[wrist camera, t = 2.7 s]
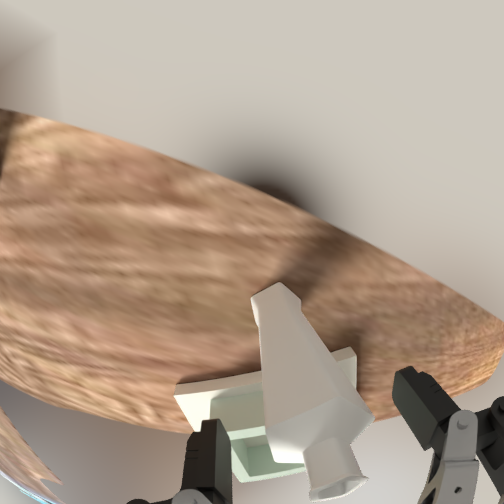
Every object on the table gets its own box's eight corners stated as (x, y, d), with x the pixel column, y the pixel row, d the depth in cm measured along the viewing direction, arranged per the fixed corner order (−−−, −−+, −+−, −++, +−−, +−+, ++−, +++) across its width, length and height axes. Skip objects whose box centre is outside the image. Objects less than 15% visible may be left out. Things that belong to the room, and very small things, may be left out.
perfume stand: (215, 451, 25) (214, 488, 20) (176, 384, 22) (166, 429, 16) (349, 422, 25) (365, 456, 20) (350, 346, 22) (375, 384, 17)
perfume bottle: (260, 268, 20) (321, 456, 5) (311, 290, 20) (419, 450, 6) (234, 320, 20) (244, 511, 6) (284, 338, 21) (340, 509, 7)
